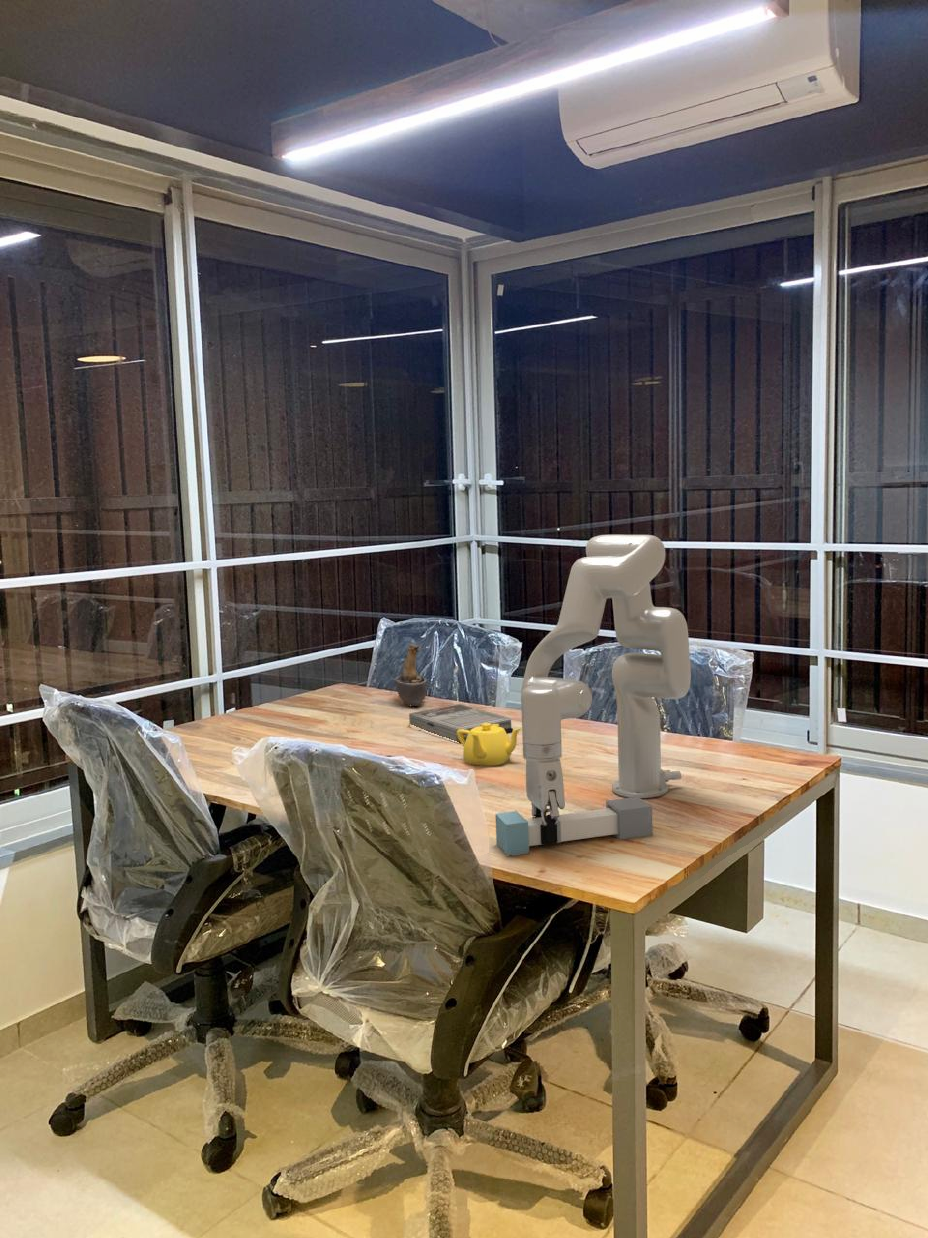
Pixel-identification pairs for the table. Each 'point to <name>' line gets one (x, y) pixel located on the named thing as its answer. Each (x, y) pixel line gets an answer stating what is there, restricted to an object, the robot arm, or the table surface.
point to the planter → (411, 680)
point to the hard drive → (456, 720)
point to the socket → (512, 833)
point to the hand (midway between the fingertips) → (545, 839)
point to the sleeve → (632, 817)
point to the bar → (577, 825)
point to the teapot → (487, 744)
